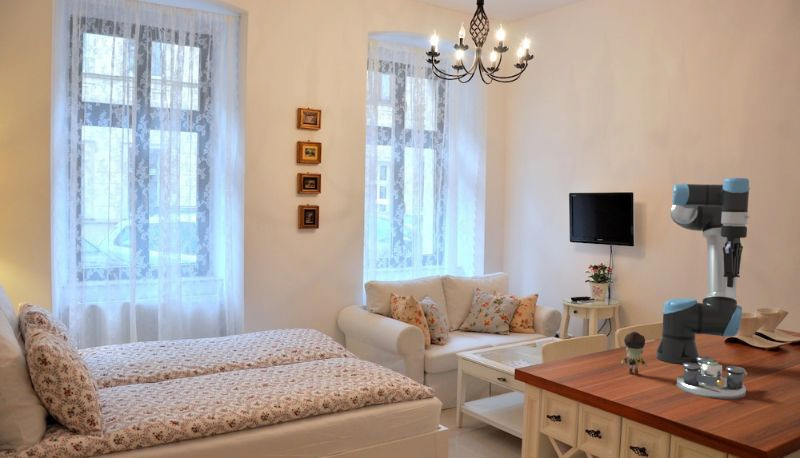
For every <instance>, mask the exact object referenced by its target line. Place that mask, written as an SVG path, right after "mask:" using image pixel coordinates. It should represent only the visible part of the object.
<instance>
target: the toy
mask: <svg viewBox="0 0 800 458" xmlns="http://www.w3.org/2000/svg"><path fill="white" fill-rule="evenodd" d="M645 344H646V338H645V336H644V335H642V334H640V333H639V332H638V331H632V332H630V333H628V334H626V336H624V345H625V353H626V354H627V355H626V356H625V357H624V358H623V359H622V360H621V362H620V364H622V365H623V364H626V365H628V366H629V370H628V371H629V374H630V375H632V374H633V373H634V374H635V375H638V374H639V370H638V369H639V367H638V366H639V363H641V365H642V366H643V367H645V368H647V367H648V364H647V363H646V362H645V360H644V359H643V358H642V357H641V355H643V354H644V353H643V352H644V351H645V350H644V347H645ZM633 367H634V369H633ZM633 371H634V372H633Z"/></svg>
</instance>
